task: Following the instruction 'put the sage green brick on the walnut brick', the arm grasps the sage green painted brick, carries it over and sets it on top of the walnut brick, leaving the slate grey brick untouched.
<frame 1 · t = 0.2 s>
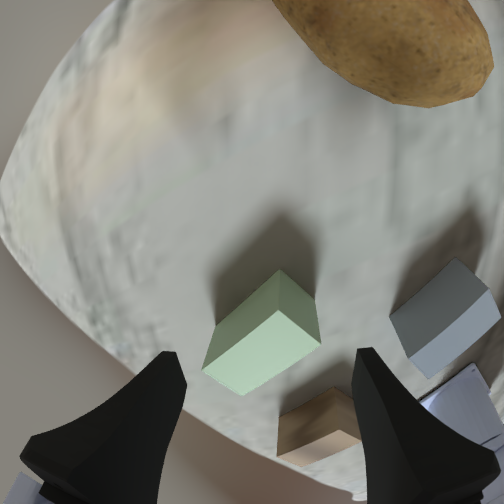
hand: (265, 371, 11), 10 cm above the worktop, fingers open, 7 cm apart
slate brick: (432, 299, 20), on the worktop
green brick: (263, 313, 22), on the worktop
walnut brick: (316, 409, 26), on the worktop
potato: (350, 18, 13), on the worktop
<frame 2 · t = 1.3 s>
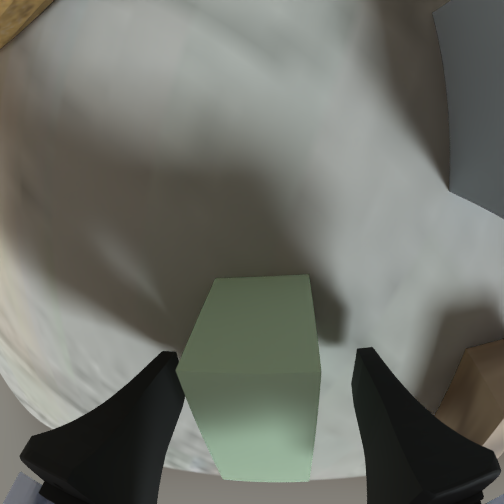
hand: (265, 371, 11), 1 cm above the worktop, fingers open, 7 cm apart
slate brick: (480, 104, 7), on the worktop
green brick: (268, 346, 12), on the worktop
walnut brick: (468, 385, 13), on the worktop
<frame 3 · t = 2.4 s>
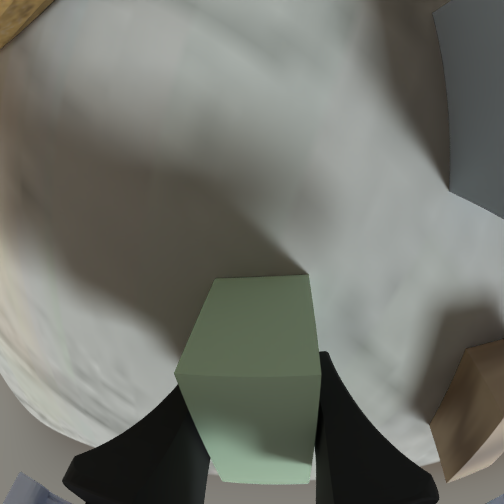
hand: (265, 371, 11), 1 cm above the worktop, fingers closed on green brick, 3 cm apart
slate brick: (480, 104, 7), on the worktop
green brick: (267, 348, 12), on the worktop, touching gripper
walnut brick: (468, 385, 13), on the worktop
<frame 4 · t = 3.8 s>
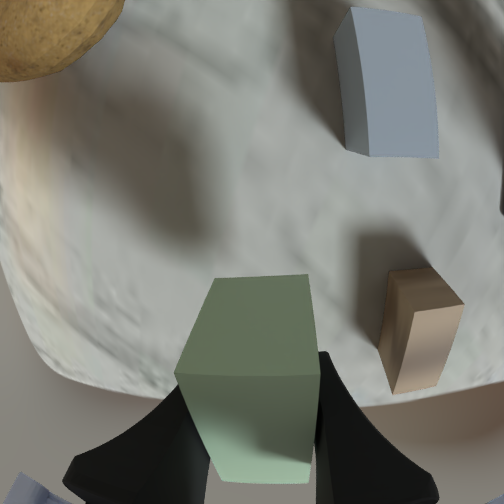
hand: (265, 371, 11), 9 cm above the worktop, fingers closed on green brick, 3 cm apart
slate brick: (368, 92, 14), on the worktop
green brick: (267, 347, 12), point 7 cm above the worktop, touching gripper
walnut brick: (404, 310, 20), on the worktop
potato: (74, 27, 13), on the worktop
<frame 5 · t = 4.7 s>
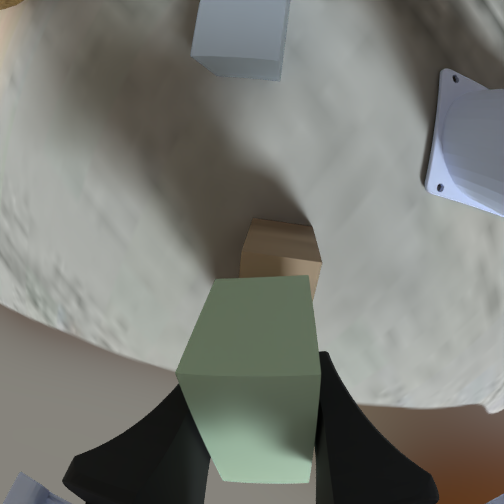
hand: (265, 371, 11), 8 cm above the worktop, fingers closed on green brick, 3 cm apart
slate brick: (255, 24, 13), on the worktop
green brick: (268, 348, 12), point 7 cm above the worktop, touching gripper
walnut brick: (274, 274, 19), on the worktop
when the fingers open (8 cm above the worktop, at t = 5.5 s): green brick drops 2 cm, resting on walnut brick.
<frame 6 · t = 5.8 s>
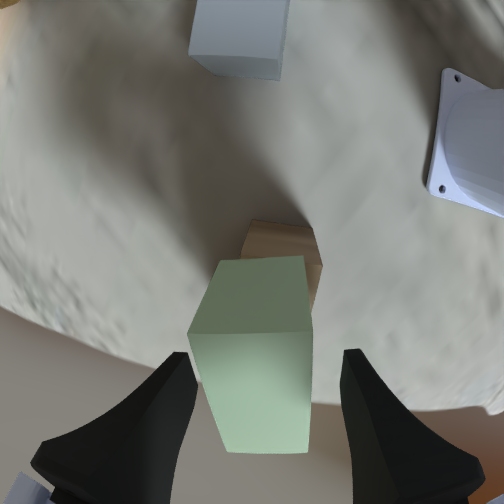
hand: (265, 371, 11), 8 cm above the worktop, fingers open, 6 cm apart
slate brick: (254, 23, 12), on the worktop
green brick: (268, 325, 14), point 5 cm above the worktop, touching walnut brick
walnut brick: (273, 277, 18), on the worktop, touching green brick
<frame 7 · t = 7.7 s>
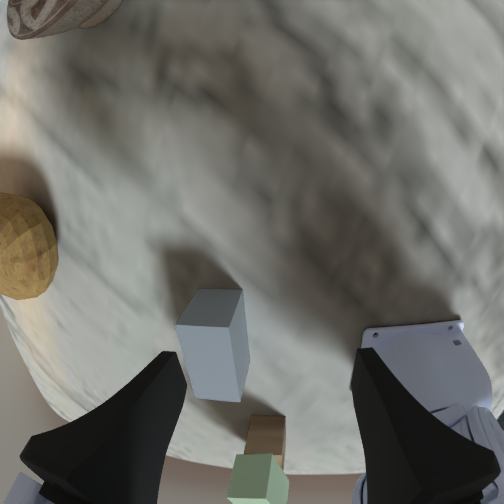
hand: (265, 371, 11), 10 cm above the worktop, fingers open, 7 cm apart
slate brick: (225, 326, 23), on the worktop
green brick: (264, 469, 24), point 5 cm above the worktop, touching walnut brick
walnut brick: (269, 433, 28), on the worktop, touching green brick
potato: (35, 231, 23), on the worktop
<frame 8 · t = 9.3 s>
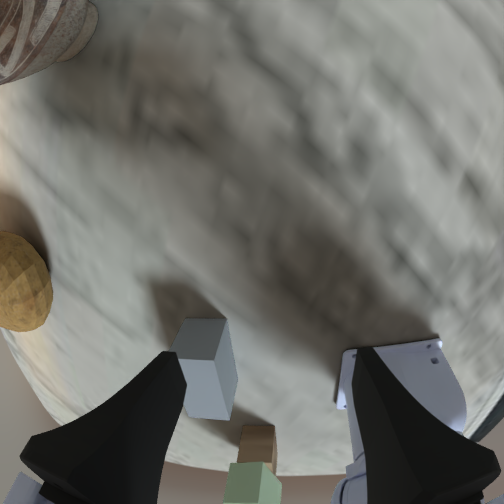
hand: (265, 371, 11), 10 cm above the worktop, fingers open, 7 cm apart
slate brick: (213, 350, 25), on the worktop
green brick: (257, 474, 25), point 5 cm above the worktop, touching walnut brick
walnut brick: (261, 440, 30), on the worktop, touching green brick
potato: (28, 262, 24), on the worktop
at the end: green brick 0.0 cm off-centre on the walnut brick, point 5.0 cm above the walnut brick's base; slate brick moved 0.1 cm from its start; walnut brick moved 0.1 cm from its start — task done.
